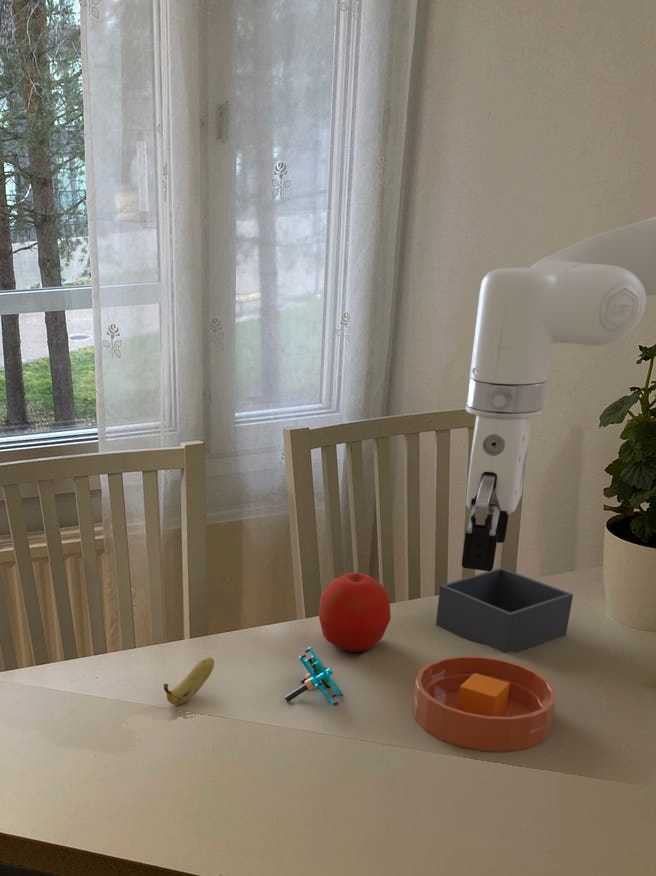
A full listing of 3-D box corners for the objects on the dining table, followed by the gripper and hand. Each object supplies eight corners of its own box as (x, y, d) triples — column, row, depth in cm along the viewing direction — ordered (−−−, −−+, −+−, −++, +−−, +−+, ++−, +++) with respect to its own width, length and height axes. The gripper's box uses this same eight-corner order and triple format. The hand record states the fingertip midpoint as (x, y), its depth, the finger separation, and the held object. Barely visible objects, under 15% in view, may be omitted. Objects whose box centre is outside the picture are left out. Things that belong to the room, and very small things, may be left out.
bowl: (475, 678, 123) (480, 645, 121) (578, 730, 110) (585, 694, 108) (385, 711, 116) (388, 676, 114) (484, 771, 103) (490, 733, 101)
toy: (470, 704, 116) (474, 672, 114) (505, 714, 113) (510, 682, 111) (455, 718, 113) (459, 686, 111) (491, 729, 110) (495, 697, 108)
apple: (315, 630, 138) (318, 559, 133) (383, 631, 137) (388, 559, 132) (319, 660, 129) (322, 585, 124) (391, 662, 128) (398, 585, 123)
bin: (495, 605, 145) (501, 567, 142) (566, 634, 135) (573, 594, 132) (435, 624, 139) (439, 585, 136) (504, 656, 129) (510, 614, 126)
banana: (204, 680, 124) (204, 654, 123) (219, 685, 123) (219, 658, 121) (157, 709, 117) (156, 682, 116) (172, 715, 116) (171, 687, 114)
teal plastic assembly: (350, 702, 113) (315, 650, 113) (303, 732, 115) (268, 681, 114) (345, 682, 125) (313, 636, 125) (302, 709, 126) (270, 663, 126)
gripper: (535, 416, 85) (509, 586, 92) (551, 385, 99) (527, 535, 107) (453, 410, 88) (434, 575, 95) (479, 381, 102) (461, 527, 110)
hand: (483, 554), depth 101 cm, fingers open, 9 cm apart
